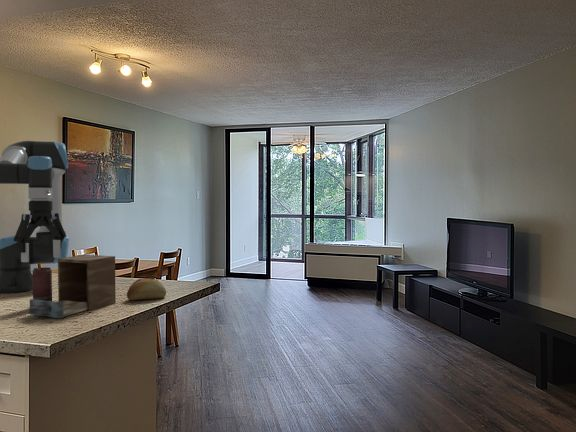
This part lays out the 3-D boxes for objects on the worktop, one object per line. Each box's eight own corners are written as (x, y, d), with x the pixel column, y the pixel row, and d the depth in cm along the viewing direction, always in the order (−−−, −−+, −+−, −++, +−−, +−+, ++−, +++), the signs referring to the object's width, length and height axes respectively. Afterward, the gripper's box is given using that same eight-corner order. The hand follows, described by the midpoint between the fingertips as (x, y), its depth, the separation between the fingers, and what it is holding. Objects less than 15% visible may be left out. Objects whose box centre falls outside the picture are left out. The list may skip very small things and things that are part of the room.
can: (36, 305, 172) (36, 267, 172) (55, 305, 173) (54, 266, 172) (29, 309, 166) (28, 269, 166) (48, 309, 167) (47, 269, 166)
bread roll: (123, 299, 184) (123, 278, 184) (162, 295, 192) (161, 275, 192) (129, 303, 176) (129, 282, 176) (169, 299, 184) (169, 278, 183)
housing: (58, 307, 169) (57, 258, 168) (85, 300, 181) (85, 254, 180) (89, 310, 164) (89, 260, 163) (115, 303, 176) (115, 256, 175)
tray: (19, 317, 154) (19, 302, 153) (60, 306, 169) (60, 292, 169) (51, 321, 149) (51, 305, 149) (91, 309, 165) (90, 295, 165)
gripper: (17, 200, 155) (18, 264, 156) (75, 200, 178) (76, 256, 179) (0, 200, 158) (2, 263, 158) (60, 200, 181) (61, 255, 182)
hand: (41, 259), depth 169 cm, fingers open, 13 cm apart
